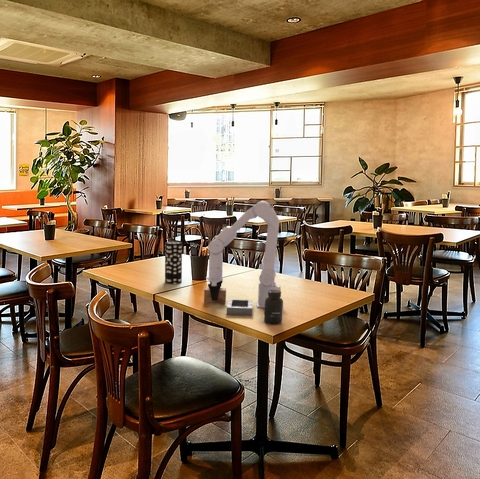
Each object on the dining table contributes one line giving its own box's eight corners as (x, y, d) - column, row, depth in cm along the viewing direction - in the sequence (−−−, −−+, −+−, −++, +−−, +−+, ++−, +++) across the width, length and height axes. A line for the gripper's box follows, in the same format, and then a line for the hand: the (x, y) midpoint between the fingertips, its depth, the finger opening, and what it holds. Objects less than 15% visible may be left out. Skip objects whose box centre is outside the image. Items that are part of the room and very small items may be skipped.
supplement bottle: (274, 326, 170) (276, 294, 168) (260, 322, 174) (261, 290, 173) (285, 322, 175) (287, 291, 173) (271, 318, 180) (272, 287, 178)
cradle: (252, 306, 194) (252, 299, 194) (251, 315, 182) (252, 308, 181) (228, 305, 194) (228, 298, 194) (226, 314, 182) (226, 307, 182)
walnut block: (225, 301, 201) (226, 288, 200) (225, 304, 197) (225, 290, 196) (205, 301, 201) (205, 287, 201) (204, 303, 197) (204, 289, 197)
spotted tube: (179, 279, 239) (180, 241, 236) (183, 283, 231) (183, 243, 228) (163, 280, 236) (163, 241, 233) (166, 284, 228) (166, 244, 226)
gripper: (208, 263, 204) (207, 294, 206) (204, 270, 190) (203, 302, 192) (224, 264, 204) (223, 294, 206) (221, 271, 190) (220, 303, 192)
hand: (215, 298), depth 199 cm, fingers open, 5 cm apart
